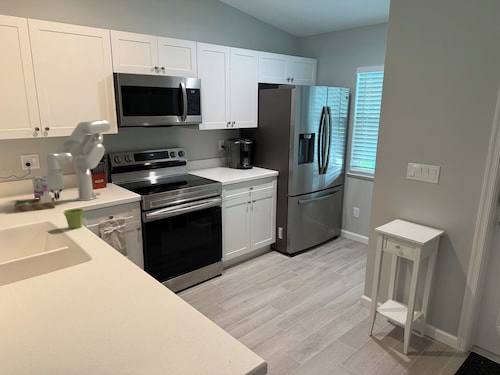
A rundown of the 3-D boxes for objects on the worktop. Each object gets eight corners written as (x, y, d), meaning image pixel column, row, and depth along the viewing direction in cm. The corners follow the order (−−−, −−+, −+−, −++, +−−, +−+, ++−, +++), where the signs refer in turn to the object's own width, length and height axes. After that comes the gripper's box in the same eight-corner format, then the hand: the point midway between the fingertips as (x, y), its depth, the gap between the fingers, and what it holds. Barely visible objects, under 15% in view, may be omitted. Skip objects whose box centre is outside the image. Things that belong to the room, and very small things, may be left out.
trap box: (54, 203, 237) (54, 195, 236) (54, 208, 221) (53, 200, 220) (18, 207, 226) (17, 199, 226) (15, 212, 211) (14, 204, 210)
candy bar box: (50, 199, 251) (47, 176, 248) (43, 200, 247) (40, 177, 244) (41, 197, 256) (38, 176, 253) (34, 199, 252) (31, 177, 249)
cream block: (51, 200, 230) (51, 194, 229) (51, 202, 225) (50, 196, 225) (41, 201, 227) (40, 196, 226) (41, 203, 222) (40, 197, 222)
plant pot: (61, 228, 175) (59, 211, 174) (80, 223, 183) (78, 207, 181) (70, 231, 170) (68, 214, 168) (89, 226, 177) (87, 210, 176)
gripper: (66, 170, 233) (69, 197, 236) (41, 172, 225) (44, 199, 228) (67, 171, 226) (70, 199, 229) (40, 173, 219) (44, 201, 222)
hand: (57, 199), depth 229 cm, fingers closed
